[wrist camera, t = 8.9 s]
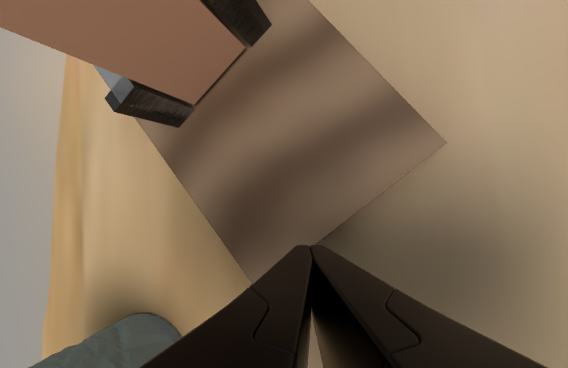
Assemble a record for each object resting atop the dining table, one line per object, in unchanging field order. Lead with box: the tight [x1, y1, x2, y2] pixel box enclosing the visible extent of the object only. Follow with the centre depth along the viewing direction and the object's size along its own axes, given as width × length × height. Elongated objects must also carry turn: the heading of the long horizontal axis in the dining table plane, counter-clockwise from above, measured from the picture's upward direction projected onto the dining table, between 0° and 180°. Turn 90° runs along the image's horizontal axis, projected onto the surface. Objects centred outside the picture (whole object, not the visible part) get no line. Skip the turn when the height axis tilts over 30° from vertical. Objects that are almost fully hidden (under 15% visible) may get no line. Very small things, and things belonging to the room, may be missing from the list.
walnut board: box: [134, 0, 447, 284], centre depth 18 cm, size 20×14×1 cm
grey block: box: [94, 0, 272, 128], centre depth 16 cm, size 8×9×5 cm
